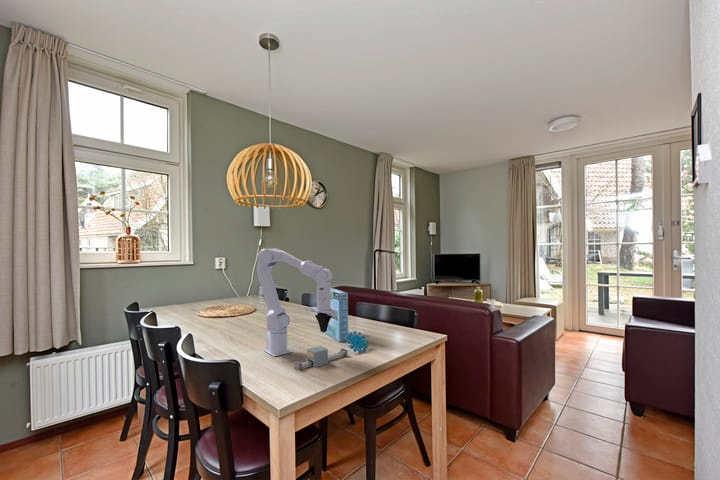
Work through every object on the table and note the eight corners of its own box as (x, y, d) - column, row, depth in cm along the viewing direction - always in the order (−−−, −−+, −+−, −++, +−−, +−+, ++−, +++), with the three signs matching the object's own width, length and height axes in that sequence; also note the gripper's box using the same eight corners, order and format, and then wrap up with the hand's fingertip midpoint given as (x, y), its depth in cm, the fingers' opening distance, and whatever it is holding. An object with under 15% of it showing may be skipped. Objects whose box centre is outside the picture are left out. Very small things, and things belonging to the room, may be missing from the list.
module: (307, 363, 121) (307, 349, 121) (320, 359, 125) (320, 345, 125) (314, 367, 117) (314, 352, 117) (327, 363, 121) (327, 349, 121)
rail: (294, 368, 117) (294, 361, 117) (342, 354, 131) (342, 348, 131) (299, 370, 114) (299, 364, 114) (347, 356, 129) (347, 350, 129)
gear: (351, 351, 129) (345, 330, 136) (345, 358, 133) (339, 337, 140) (373, 350, 135) (367, 330, 142) (367, 357, 138) (361, 337, 145)
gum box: (348, 340, 149) (348, 292, 149) (338, 342, 147) (338, 293, 147) (332, 330, 166) (332, 287, 167) (323, 332, 164) (323, 287, 164)
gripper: (304, 297, 131) (304, 330, 131) (328, 302, 122) (328, 337, 121) (317, 295, 136) (317, 327, 136) (341, 299, 127) (341, 333, 127)
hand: (323, 331), depth 129 cm, fingers closed
